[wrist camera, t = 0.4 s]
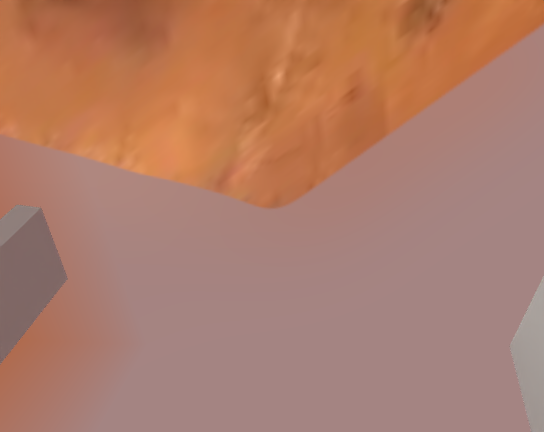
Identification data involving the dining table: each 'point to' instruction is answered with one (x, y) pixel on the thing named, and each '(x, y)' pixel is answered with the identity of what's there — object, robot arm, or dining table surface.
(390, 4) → the dining table surface
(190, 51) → the dining table surface
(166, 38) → the dining table surface
